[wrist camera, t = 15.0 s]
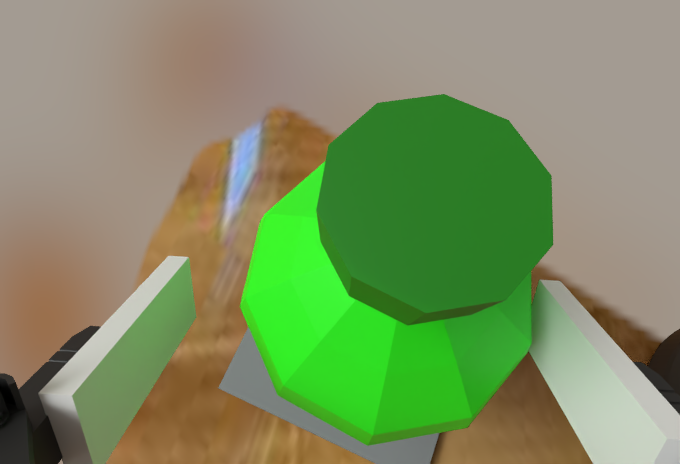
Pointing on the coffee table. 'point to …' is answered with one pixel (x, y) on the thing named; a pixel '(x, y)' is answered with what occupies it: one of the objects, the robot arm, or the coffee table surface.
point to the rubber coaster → (257, 389)
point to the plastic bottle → (402, 271)
